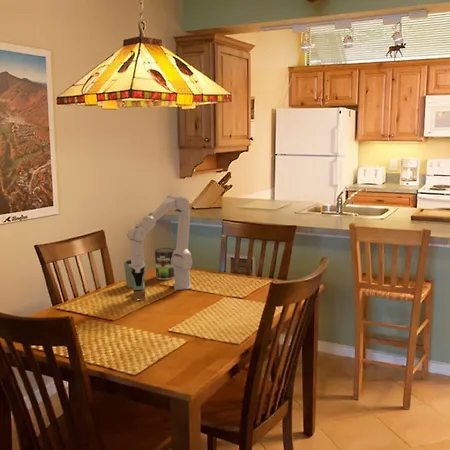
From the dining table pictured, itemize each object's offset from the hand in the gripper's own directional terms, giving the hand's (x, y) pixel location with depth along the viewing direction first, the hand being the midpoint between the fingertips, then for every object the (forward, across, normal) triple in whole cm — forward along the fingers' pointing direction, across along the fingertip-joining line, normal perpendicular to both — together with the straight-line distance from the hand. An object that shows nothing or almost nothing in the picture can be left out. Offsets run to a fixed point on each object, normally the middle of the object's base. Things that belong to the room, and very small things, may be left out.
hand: (138, 284), depth 244 cm
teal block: (+2, 0, 0) cm, 2 cm away
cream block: (+6, -8, 0) cm, 10 cm away
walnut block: (+7, 0, 0) cm, 7 cm away
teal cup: (+7, -21, -2) cm, 22 cm away
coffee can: (+7, -33, +13) cm, 36 cm away
